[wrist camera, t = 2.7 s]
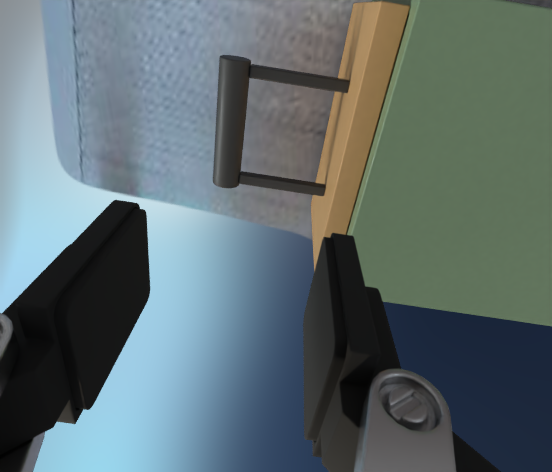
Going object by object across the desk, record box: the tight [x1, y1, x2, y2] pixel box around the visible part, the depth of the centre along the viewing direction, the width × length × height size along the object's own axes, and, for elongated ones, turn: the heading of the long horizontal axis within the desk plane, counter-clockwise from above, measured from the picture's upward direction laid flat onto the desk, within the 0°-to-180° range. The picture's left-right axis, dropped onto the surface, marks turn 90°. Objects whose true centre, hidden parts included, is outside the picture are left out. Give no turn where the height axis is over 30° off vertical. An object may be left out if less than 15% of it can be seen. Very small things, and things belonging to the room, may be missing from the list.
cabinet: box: [346, 0, 552, 326], centre depth 22 cm, size 20×15×11 cm
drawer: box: [213, 1, 410, 272], centre depth 22 cm, size 25×14×9 cm, turn 82°
